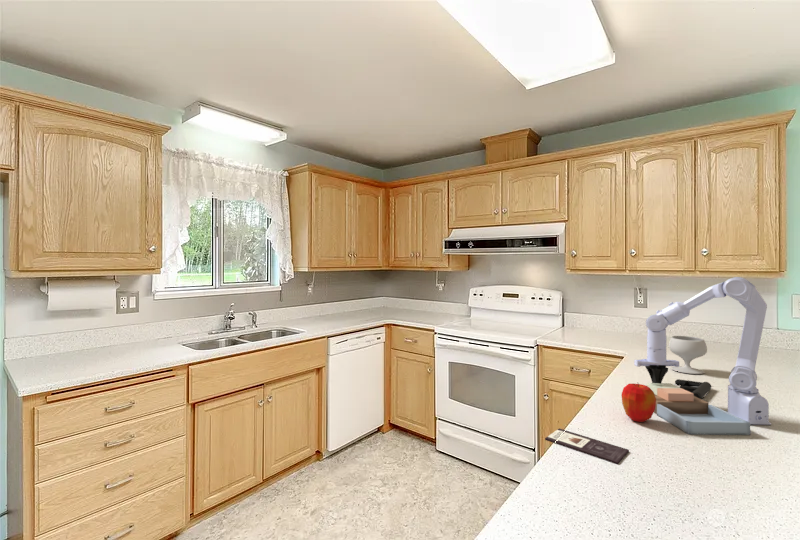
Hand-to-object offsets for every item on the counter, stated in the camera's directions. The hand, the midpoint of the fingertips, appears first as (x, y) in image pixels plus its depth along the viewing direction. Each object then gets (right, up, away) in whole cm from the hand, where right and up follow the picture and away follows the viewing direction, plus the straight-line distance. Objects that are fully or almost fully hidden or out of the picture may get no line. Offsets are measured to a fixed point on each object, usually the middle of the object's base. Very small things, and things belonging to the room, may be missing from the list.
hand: (656, 386), depth 136 cm
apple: (-18, -5, -18) cm, 26 cm away
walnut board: (0, -5, -5) cm, 7 cm away
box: (-1, -5, -21) cm, 21 cm away
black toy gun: (+17, -5, +10) cm, 21 cm away
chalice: (+39, -5, +38) cm, 54 cm away
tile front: (0, -1, -10) cm, 10 cm away
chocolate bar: (-42, -6, -34) cm, 54 cm away
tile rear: (0, -1, -4) cm, 4 cm away
